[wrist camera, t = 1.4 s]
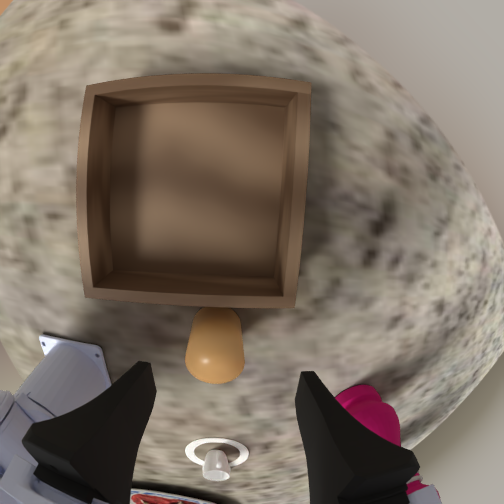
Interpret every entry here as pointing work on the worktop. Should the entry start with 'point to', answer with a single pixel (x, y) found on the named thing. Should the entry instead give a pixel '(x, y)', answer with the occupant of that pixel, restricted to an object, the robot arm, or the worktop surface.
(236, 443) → the teacup and saucer
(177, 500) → the ceramic plate
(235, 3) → the worktop surface
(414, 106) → the worktop surface
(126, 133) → the box
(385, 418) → the pepper mill
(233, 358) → the tan rounded piece
